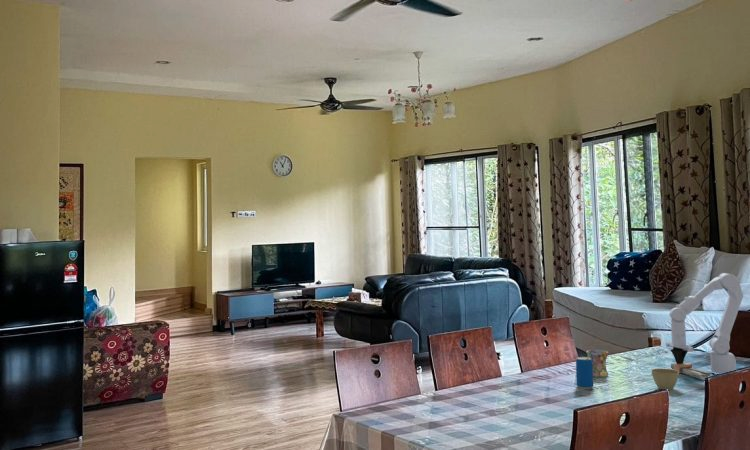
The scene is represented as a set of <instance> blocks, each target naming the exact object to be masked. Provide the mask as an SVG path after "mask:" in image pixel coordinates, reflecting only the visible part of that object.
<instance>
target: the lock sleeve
mask: <svg viewBox="0 0 750 450" xmlns="http://www.w3.org/2000/svg"><path fill="white" fill-rule="evenodd" d="M674 367H675V370H676V371H678V372H679V373H680V367H690V368H693V363H690V362H686V363H684V362H683V364H676V363H675V364H674ZM680 374H681V373H680Z"/></svg>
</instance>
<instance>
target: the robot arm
mask: <svg viewBox="0 0 750 450" xmlns="http://www.w3.org/2000/svg"><path fill="white" fill-rule="evenodd" d="M717 290H725V292H726V293H727V295H728V299H727V301H726V304H725V307H724V310H723V313H722V315H721V319H720V322H719V325H718V328H717V330H716V331H715V333H714V334H713V336H712V337H711V338H710V339H709V342H708V345H709V346H710V348H711V350H710V371H712V372H716V373H719V374H720V373H725V372H729V371H734V370H736V371H737V362H736V356H735V355H734V354H733V353H732V352H729V350H730V349H731V347H730V341H731V333H732V329H733V326H734V324H735V321H736V319H737V316H738V312H739V309H740V307H741V304H742V301H743V298H744V292H743V290H742V286H741V282H740V280H739V279H738V278H737V276H735V275H734V274H733V273H732V274H731V273H727V272H721V273H720V274H718V276H715V277H714V278H712V279H711V280H710V281H709V282H708V283H707V284H706V285H704V287H702V288H701V289H700V290H699V291H697V293H695V294H694V295H689V296H684V300H682V301H681V302H679V304H676V305H675V307H673V308H671V309H670V312H669V317H670V318H671V319H670V320H671V321H670V322H671V323H670V330H671V331H670V332H671V333H670V334H671V342H670V341H666V342H665V347H669V348H671V349H670V352H671V353H672V356H673V357H674V360H675V364H683V363H684V361H685V358H686V355H687V354H688V352H689V353H691V352H694V347H693V346H690V345H688V344H687V336H686V335H687V334H686V333H687V331H686V321H685V320H686V318H687V316H689V315H690V314H691V313H692V312H693V311H695V310H696V309H698V308H699V306H700V304H701V303H700V302H701V301H702V300H704V299H705V298H706V297H707V296H709V295H710V294H711V293H713V292H715V291H717ZM715 375H716V376H718V375H717V374H715Z"/></svg>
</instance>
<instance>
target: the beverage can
mask: <svg viewBox="0 0 750 450" xmlns="http://www.w3.org/2000/svg"><path fill="white" fill-rule="evenodd" d="M575 373H576V374H575V375H576V387H578V389H582V390H591V389H592V388H593V387H594V376H593V362H592V360H591V358H589V357H587V356H578V357H576V360H575Z"/></svg>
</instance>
